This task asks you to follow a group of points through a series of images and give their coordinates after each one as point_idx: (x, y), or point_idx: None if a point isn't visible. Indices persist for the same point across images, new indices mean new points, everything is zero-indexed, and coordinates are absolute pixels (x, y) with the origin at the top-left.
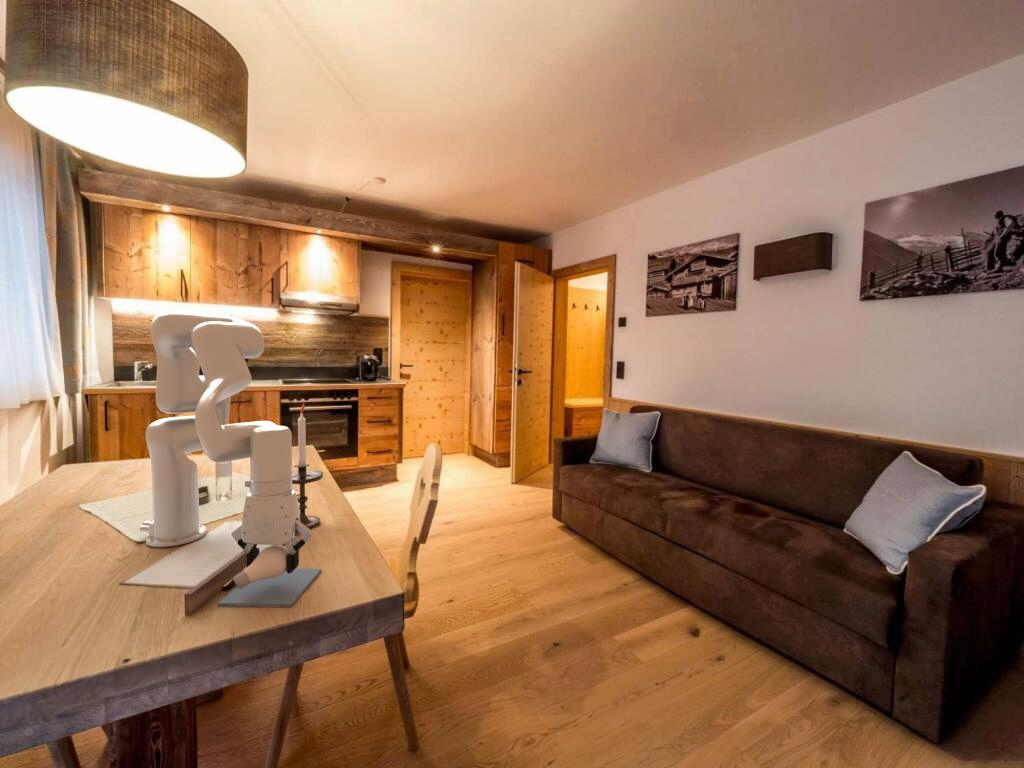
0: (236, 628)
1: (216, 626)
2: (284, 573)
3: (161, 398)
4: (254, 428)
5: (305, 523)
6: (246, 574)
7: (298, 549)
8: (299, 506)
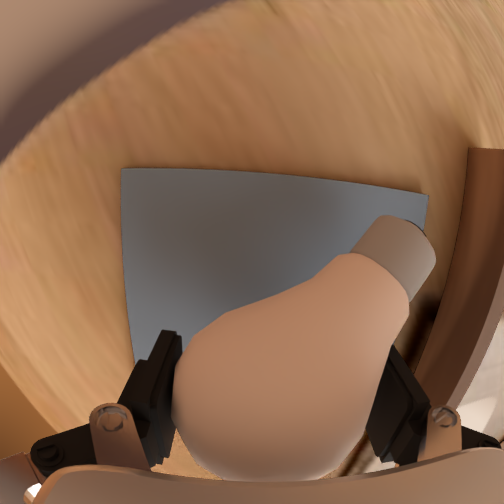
0: (277, 30)
1: (359, 53)
2: None
3: None
4: None
5: None
6: (383, 265)
7: (81, 428)
8: None
